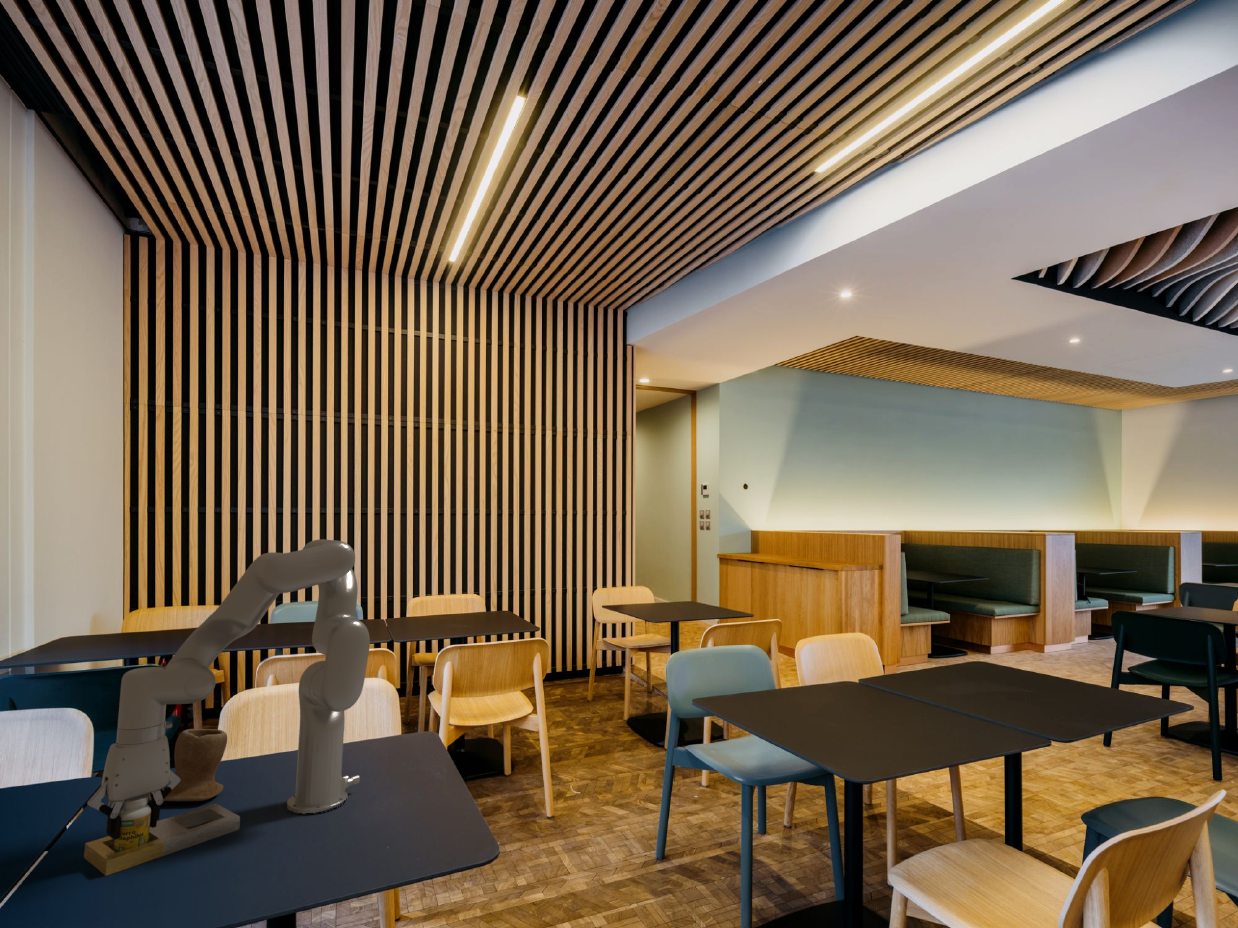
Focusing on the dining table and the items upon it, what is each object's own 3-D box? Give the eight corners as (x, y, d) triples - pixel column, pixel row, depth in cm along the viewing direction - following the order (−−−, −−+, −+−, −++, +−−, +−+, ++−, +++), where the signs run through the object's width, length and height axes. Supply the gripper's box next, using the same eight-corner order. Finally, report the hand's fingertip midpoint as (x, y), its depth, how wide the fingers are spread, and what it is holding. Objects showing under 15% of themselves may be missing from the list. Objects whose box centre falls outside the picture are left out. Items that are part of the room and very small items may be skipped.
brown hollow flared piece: (235, 787, 159) (239, 723, 160) (204, 808, 147) (209, 738, 148) (172, 786, 159) (177, 722, 160) (136, 807, 147) (142, 737, 148)
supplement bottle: (148, 841, 130) (153, 790, 131) (147, 852, 125) (152, 799, 126) (114, 847, 127) (119, 795, 128) (111, 859, 122) (117, 804, 123)
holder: (214, 815, 143) (215, 803, 143) (239, 829, 137) (240, 816, 137) (84, 857, 124) (85, 842, 125) (105, 875, 118) (107, 860, 118)
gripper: (181, 720, 137) (174, 811, 135) (79, 741, 123) (70, 842, 121) (197, 726, 133) (190, 820, 131) (94, 749, 119) (84, 854, 117)
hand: (132, 830), depth 126 cm, fingers closed on supplement bottle, 5 cm apart
